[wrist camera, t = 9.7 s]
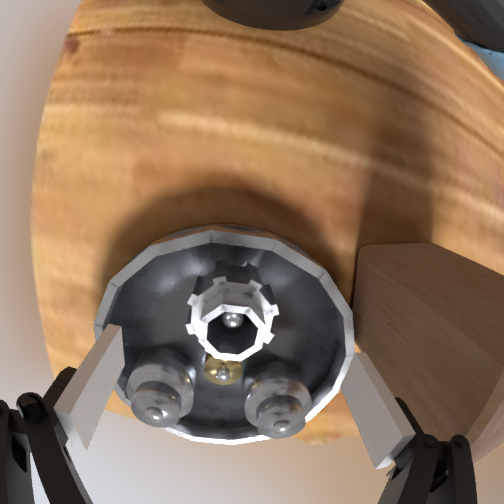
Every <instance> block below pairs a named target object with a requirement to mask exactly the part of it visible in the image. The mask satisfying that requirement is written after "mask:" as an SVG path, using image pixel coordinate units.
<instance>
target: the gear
mask: <svg viewBox="0 0 504 504" xmlns="http://www.w3.org/2000/svg"><path fill="white" fill-rule="evenodd" d="M187 303H188V304H189V305H191V307H190V310H189V314H188V317H187V321H186V324H185V325H186V328H187V330H188V333H189V334H194V333H195V334H196V335H197V336H198V338H199V340H198V341H199V342H200V343H201V344H202V345H203V346H204V347H205V351H207V352H209V353H211V354H212V355H213V356H214V357H215V358H219V359H228V360H238V361H241V360H243V359H245V358H246V357H248V356H250V355H251V354H253V353H255V352H256V351H258V350H259V349H261V348H262V343H263V341H264V342H266V343H269V341H270V340H271V339H272V337H273V336H274V332H273V328H272V325H271V324H272V319H273V316H275V315H279V312H278V308H277V303H276V301H275V298H274V295H273V292H272V289H271V286H270V284H267V285H264V283H263V282H262V281H261V279H260V276H259V272H258V268H257V267H255V266H254V265H252V264H250V263H247V265H246V267H244V266H236V265H229V264H227V260H222V261H218V262H216V263H215V269H213V270H212V271H211V272H209V273H208V274H207V275H205V276H204V277H202V276H200V275H198V276H197V278H196V280H195V281H194V283H193V286H192V289H191V292H190V295H189V298H188V301H187ZM224 311H225V312H233V313H242V314H243V322H242V324H241V325H240V326H239V327H237V328H228V327H227V326H225V325H224V323H223V321H222V314H221V313H223V312H224Z"/></svg>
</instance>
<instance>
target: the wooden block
mask: <svg viewBox="0 0 504 504" xmlns="http://www.w3.org/2000/svg"><path fill="white" fill-rule="evenodd" d="M352 313H353V327H354V341H355V343H356V344H357V346H358V347H359V349H360V350H361V352H362V353H366V354H367V355H368V357H369V358H370V360H371V361H372V363H373V365H374V366H375V368H376V369H377V371H378V372H379V374H380V376H381V377H382V379H383V380H384V382H385V384H386V385H387V387H388V388H389V390H390V392H391V393H392V395H393V396H394V398H395V397H399V398H400V399H402V400H403V401H404V402H405V403H406V404H407V406H408V408H409V411H411V412H412V414H413V416H414V417H415V419H416V420H417V422H418V424H419V425H420V427H421V428H422V430H423V432H424V433H425V434H430V435H433V436H434V437H436V438H437V439H438V441H449V440H450V439H451V438H452V437H453V436H454V435H458V434H459V435H463V436H464V437H466V438H467V439H468V441H469V444H470V449H471V454H472V460H473V463H475V462H476V461H478V460H479V459H481V458H482V457H484V456H485V455H487V454H488V453H489V452H491V451H492V450H494V449H495V448H496V447H498V446H499V445H500V444H502V443H503V442H504V276H503V275H501V274H499V273H497V272H495V271H493V270H491V269H489V268H487V267H485V266H483V265H481V264H478V263H476V262H474V261H472V260H470V259H468V258H466V257H463V256H461V255H459V254H457V253H454V252H452V251H450V250H448V249H445V248H443V247H441V246H438V245H436V244H434V243H408V244H375V245H366V246H364V247H361V248H360V250H359V253H358V261H357V272H356V281H355V290H354V298H353V306H352ZM447 473H448V471H447Z"/></svg>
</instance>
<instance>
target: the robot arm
mask: <svg viewBox="0 0 504 504" xmlns="http://www.w3.org/2000/svg"><path fill="white" fill-rule="evenodd" d="M202 1H203V2H204V3H205V4H206V5H207V6H208V7H209V8H210V9H211V10H213V11H214V12H216V13H217V14H219V15H220V16H222V17H224V18H226V19H229V20H231V21H234V22H236V23H239V24H242V25H246V26H250V27H255V28H260V29H268V30H297V29H303V28H308V27H312V26H315V25H318V24H320V23H322V22H324V21H326V20H328V19H329V18H331V17H332V16H333V15H334V14H335V13H336V12H337V11H338V9H339V8H340V7H341V5H342V4H343V2H344V1H345V0H202ZM422 1H423V2H425V3H426V4H427V5H428V6H429V7H430V8H431V9H433V10H434V11H435V12H436V13H437V14H438V15H439V16H440V17H441V18H442V19H443V20H444V21H445V22H446V23H447V24H448V25H449V26H450V27H451V28H452V29H453V30H454V32H455V35H456V36H457V37H458V38H459V40H460V41H461V42H463V43H464V44H465V45H467V46H469V47H470V48H471V49H472V50H473V51H474V52H475V53H476V54H477V55H478V57H479V58H480V59H481V60H482V61H483V62H484V63H485V64H486V66H487V67H488V68H489V69H490V70H491V71H492V72H493V73H494V74H495V75H496V76H497V77H498V78H500V79H501V80H503V81H504V0H422ZM124 366H125V361H124V351H123V340H122V327H121V326H117V325H112V324H108V326H107V327H106V328H105V330H104V331H103V333H102V334H101V336H100V337H99V338H98V340H97V341H96V343H95V344H94V346H93V347H92V349H91V350H90V351H89V353H88V354H87V356H86V357H85V359H84V360H83V362H82V363H81V365H80V366H79V368H78V369H75V368H72V367H69V366H68V367H67V368H65V369H64V370H62V371H61V372H60V373H59V375H58V376H57V378H56V380H55V381H54V382H53V383H52V385H51V386H50V388H49V389H48V391H47V392H46V394H45V395H44V397H43V398H42V397H41V396H40V395H38V394H36V393H33V392H28V393H24V394H22V395H21V396H20V397H19V398H18V399H17V403H16V406H17V408H18V410H14V409H9V407H8V405H7V403H6V402H4V401H3V400H0V504H35V502H34V495H33V487H32V478H31V464H30V452H32V456H33V459H34V462H35V465H36V468H37V471H38V474H39V477H40V479H41V482H42V485H43V487H44V490H45V493H46V495H47V497H48V500H49V502H50V504H93V502H92V501H91V499H90V497H89V495H88V493H87V491H86V489H85V487H84V485H83V483H82V481H81V479H80V477H79V475H78V473H77V471H76V469H75V467H74V464H73V462H72V460H71V457H70V455H69V452H68V450H67V448H66V446H65V444H66V442H67V440H69V442H70V444H71V446H74V447H76V448H79V449H81V450H84V451H86V450H87V448H88V446H89V444H90V441H91V439H92V436H93V434H94V432H95V429H96V427H97V425H98V422H99V420H100V418H101V415H102V413H103V411H104V409H105V406H106V404H107V402H108V400H109V398H110V395H111V393H112V391H113V389H114V387H115V385H116V382H117V380H118V378H119V376H120V374H121V372H122V370H123V368H124ZM340 388H341V390H342V393H343V395H344V397H345V399H346V402H347V404H348V406H349V408H350V411H351V413H352V415H353V418H354V420H355V422H356V425H357V427H358V429H359V432H360V434H361V436H362V438H363V441H364V443H365V446H366V448H367V451H368V453H369V455H370V458H371V460H372V462H373V465H374V467H375V469H379V468H383V467H387V466H389V465H390V463H391V462H392V461H393V460H394V461H395V463H396V465H395V466H394V467H393V468H392V469H391V470H390V471H389V472H388V473H387V475H386V476H388V475H389V474H390V473H391V474H390V477H389V479H388V482H387V484H386V487H385V489H384V491H383V493H382V496H381V497H380V500H379V502H378V504H477V492H476V482H475V474H474V467H473V460H472V454H471V449H470V444H469V441H468V439H467V438H466V437H464V436H463V435H459V434H458V435H454V436H453V437H452V438H451V439H450V440H449V441H438V439H437V438H436V437H434V436H433V435H430V434H425V433H424V432H423V430H422V428H421V427H420V425H419V424H418V422H417V420H416V419H415V417H414V416H413V414H412V412H411V411H409V408H408V406H407V404H406V403H405V402H404V401H403V400H402V399H400V398H399V397H395V398H394V396H393V395H392V393H391V392H390V390H389V388H388V387H387V385H386V384H385V382H384V380H383V379H382V377H381V376H380V374H379V372H378V371H377V369H376V368H375V366H374V365H373V363H372V361H371V360H370V358H369V357H368V355H367V354H366V353H355V354H354V356H353V358H352V361H351V363H350V365H349V368H348V370H347V372H346V375H345V377H344V379H343V381H342V383H341V386H340ZM447 471H448V473H447Z"/></svg>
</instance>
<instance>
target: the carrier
mask: <svg viewBox="0 0 504 504" xmlns="http://www.w3.org/2000/svg"><path fill="white" fill-rule="evenodd" d="M222 260H227V264H229V265H236V266H244V267H246V265H247V263H250V264H252V265H254V266H255V267H257V268H258V272H259V276H260V279H261V281H262V282H263V283H264V285H267V284H270V286H271V289H272V292H273V295H274V298H275V301H276V303H277V308H278V312H279V315H275V316H273V319H272V324H271V325H272V328H273V332H274V336H273V337H272V339H271V340H270V341H269V343H266V342H264V341H263V343H262V348H261V349H259V350H258V351H256V352H255V353H253V354H251V355H250V356H248V357H246V358H245V359H243V360H241V361H238V360H228V359H219V358H215V357H214V356H213V355H212V354H211V353H209V352H207V351H205V347H204V346H203V345H202V344H201V343H200V342H199V341H198V340H199V338H198V336H197V335H196V334H195V333H194V334H189V333H188V330H187V328H186V325H185V324H186V321H187V317H188V314H189V310H190V307H191V305H189V304H188V303H187V301H188V298H189V295H190V292H191V289H192V286H193V283H194V281H195V280H196V278H197V276H198V275H200V276H202V277H204V276H205V275H207V274H208V273H209V272H211V271H212V270H213V269H215V263H216V262H218V261H222ZM221 314H222V321H223V323H224V325H225V326H227V327H228V328H237V327H239V326H240V325H241V324H242V322H243V314H242V313H233V312H225V311H224V312H223V313H221ZM108 324H112V325H117V326H121V327H122V340H123V351H124V361H125V366H124V368H123V370H122V372H121V374H120V376H119V378H118V380H117V382H116V385H115V387H114V390H115V391H116V393H117V395H118V396H119V398H120V399H121V400H122V401H123V402H124V403H126V404H127V405H128V406H129V407H130V408H131V410H132V412H133V414H134V415H135V416H136V417H137V418H138V419H139V420H141V421H142V422H144V423H146V424H148V425H151V426H154V427H159V428H161V429H163V430H166V431H169V432H171V433H173V434H176V435H179V436H181V437H184V438H187V439H189V440H193V441H201V442H210V443H221V444H240V443H246V442H252V441H258V440H263V439H269V438H274V439H279V438H286V437H290V436H292V435H295V434H296V433H298V432H299V431H301V430H302V429H303V428H304V426H305V424H306V422H307V421H308V420H310V419H312V418H313V417H314V416H315V415H316V414H317V413H318V412H319V411H320V410H321V409H322V408H323V407H324V406H325V405H326V404H327V403H328V402H329V401H330V400H331V399H332V398H333V397H334V396H335V395H336V394H337V393H338V392H339V391H340V386H341V383H342V381H343V379H344V377H345V375H346V372H347V370H348V368H349V365H350V363H351V361H352V358H353V356H354V354H355V345H354V327H353V313H352V311H351V309H350V307H349V306H348V304H347V302H346V301H345V299H344V298H343V296H342V294H341V293H340V291H339V290H338V288H337V286H336V285H335V283H334V282H333V280H332V278H331V277H330V275H329V274H328V272H327V271H326V270H325V268H324V267H323V266H322V265H321V264H320V263H319V262H317V261H315V260H314V259H313V258H312V257H311V256H310V255H309V254H308V253H307V252H306V251H304V250H303V249H301V248H300V247H299V246H297V245H296V244H294V243H293V242H291V241H289V240H287V239H285V238H283V237H281V236H279V235H277V234H274V233H272V232H269V231H266V230H263V229H261V228H256V227H251V226H247V225H242V224H229V223H215V224H202V225H197V226H192V227H187V228H183V229H181V230H178V231H175V232H172V233H169V234H167V235H165V236H163V237H161V238H159V239H157V240H155V241H153V242H152V243H151V244H149V245H148V246H146V247H145V248H144V249H142V250H141V251H140V252H139V253H137V254H136V255H135V256H134V257H133V258H132V259H131V260H130V261H129V262H128V263H127V264H126V265H125V266H124V267H123V268H122V270H121V271H119V272H118V273H117V274H116V275H115V276H114V277H113V278H112V279H111V280H110V281H109V283H108V286H107V288H106V291H105V293H104V296H103V299H102V301H101V304H100V307H99V309H98V312H97V315H96V318H95V321H94V331H95V340H96V341H97V340H98V338H99V337H100V336H101V334H102V333H103V331H104V330H105V328H106V327H107V326H108Z"/></svg>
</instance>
